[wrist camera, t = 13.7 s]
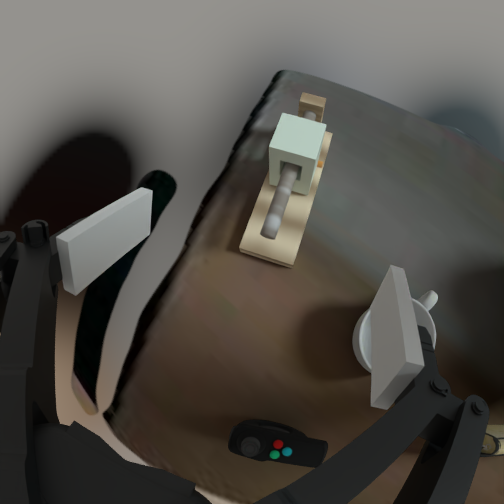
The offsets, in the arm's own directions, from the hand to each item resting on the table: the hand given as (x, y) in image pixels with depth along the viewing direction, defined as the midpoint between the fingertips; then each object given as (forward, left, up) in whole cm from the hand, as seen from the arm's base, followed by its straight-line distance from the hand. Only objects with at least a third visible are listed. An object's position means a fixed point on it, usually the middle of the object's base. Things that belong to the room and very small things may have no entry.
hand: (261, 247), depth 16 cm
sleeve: (-11, -18, -27) cm, 34 cm away
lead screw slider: (-10, -16, -30) cm, 35 cm away
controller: (+4, +18, -30) cm, 35 cm away
